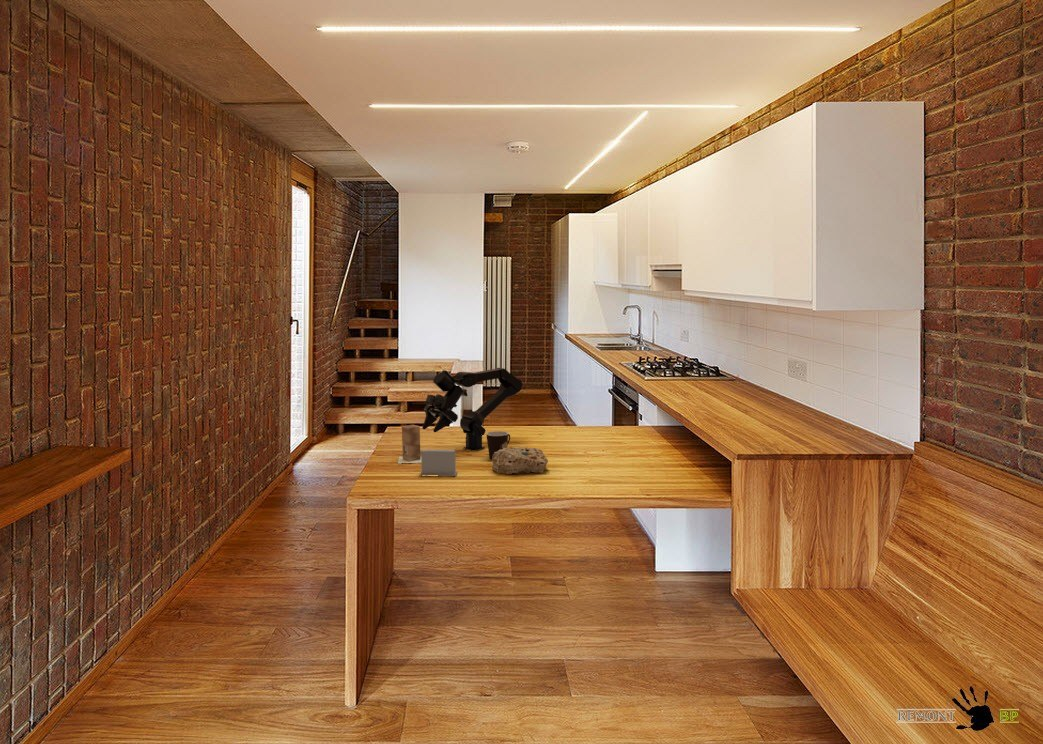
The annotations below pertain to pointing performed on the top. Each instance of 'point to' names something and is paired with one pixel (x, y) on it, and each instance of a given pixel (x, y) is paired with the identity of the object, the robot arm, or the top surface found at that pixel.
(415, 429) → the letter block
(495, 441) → the coffee mug
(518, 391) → the robot arm
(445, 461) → the screen
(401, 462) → the mat
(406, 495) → the top surface
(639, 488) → the top surface
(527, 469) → the rock
